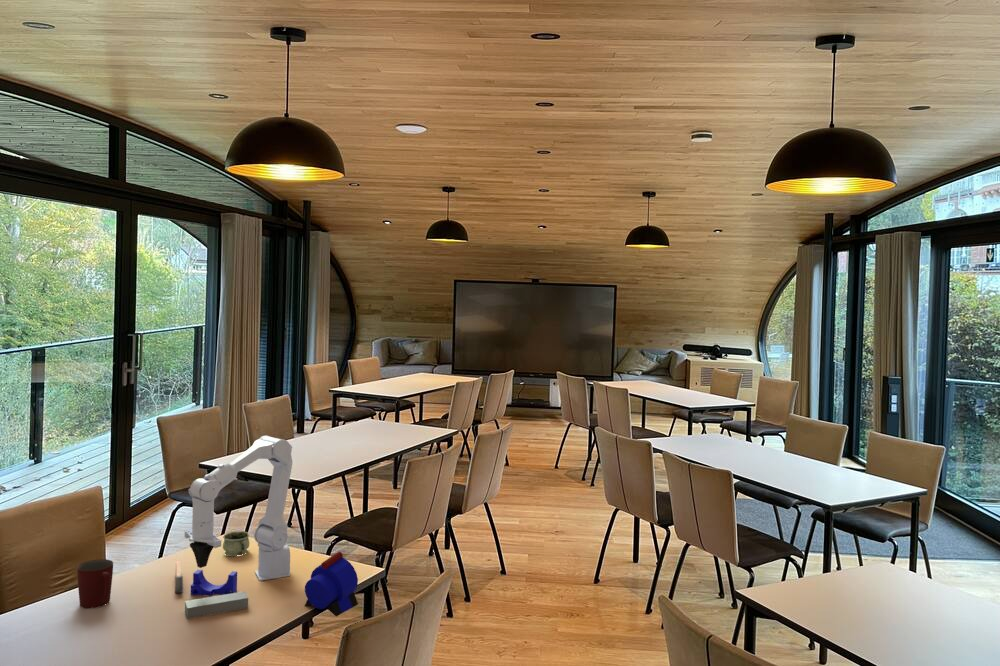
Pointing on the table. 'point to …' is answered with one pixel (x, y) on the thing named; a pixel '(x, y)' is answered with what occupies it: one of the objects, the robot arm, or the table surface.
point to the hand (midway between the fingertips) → (202, 566)
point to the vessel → (236, 543)
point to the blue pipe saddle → (206, 588)
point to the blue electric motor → (333, 585)
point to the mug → (95, 582)
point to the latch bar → (178, 578)
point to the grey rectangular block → (216, 604)
